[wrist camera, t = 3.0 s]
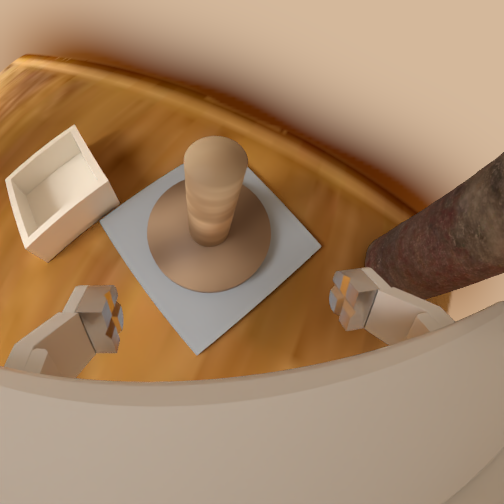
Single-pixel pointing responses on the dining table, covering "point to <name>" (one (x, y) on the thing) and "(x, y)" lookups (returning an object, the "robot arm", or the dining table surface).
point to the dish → (58, 194)
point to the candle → (447, 239)
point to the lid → (210, 221)
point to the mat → (196, 303)
